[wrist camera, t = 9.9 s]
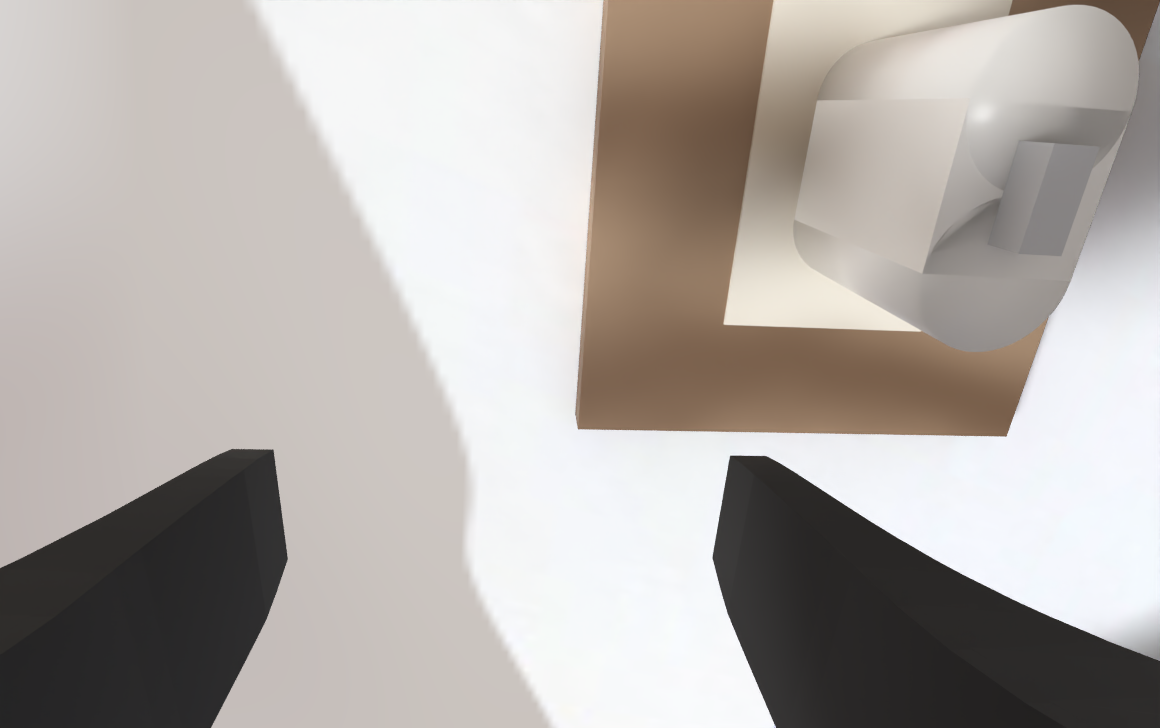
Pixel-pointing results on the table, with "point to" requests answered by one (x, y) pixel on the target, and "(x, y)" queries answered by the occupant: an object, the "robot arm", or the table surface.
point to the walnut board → (756, 233)
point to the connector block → (967, 168)
